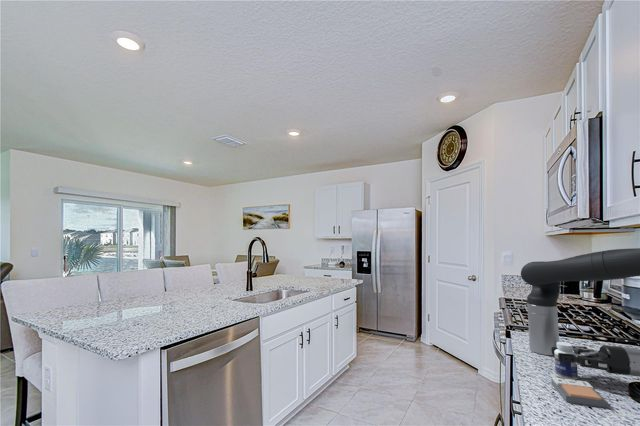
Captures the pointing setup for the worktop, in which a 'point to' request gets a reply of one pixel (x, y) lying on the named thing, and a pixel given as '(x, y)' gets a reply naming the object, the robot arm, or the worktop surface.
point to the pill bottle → (565, 368)
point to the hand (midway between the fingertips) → (555, 353)
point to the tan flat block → (578, 392)
